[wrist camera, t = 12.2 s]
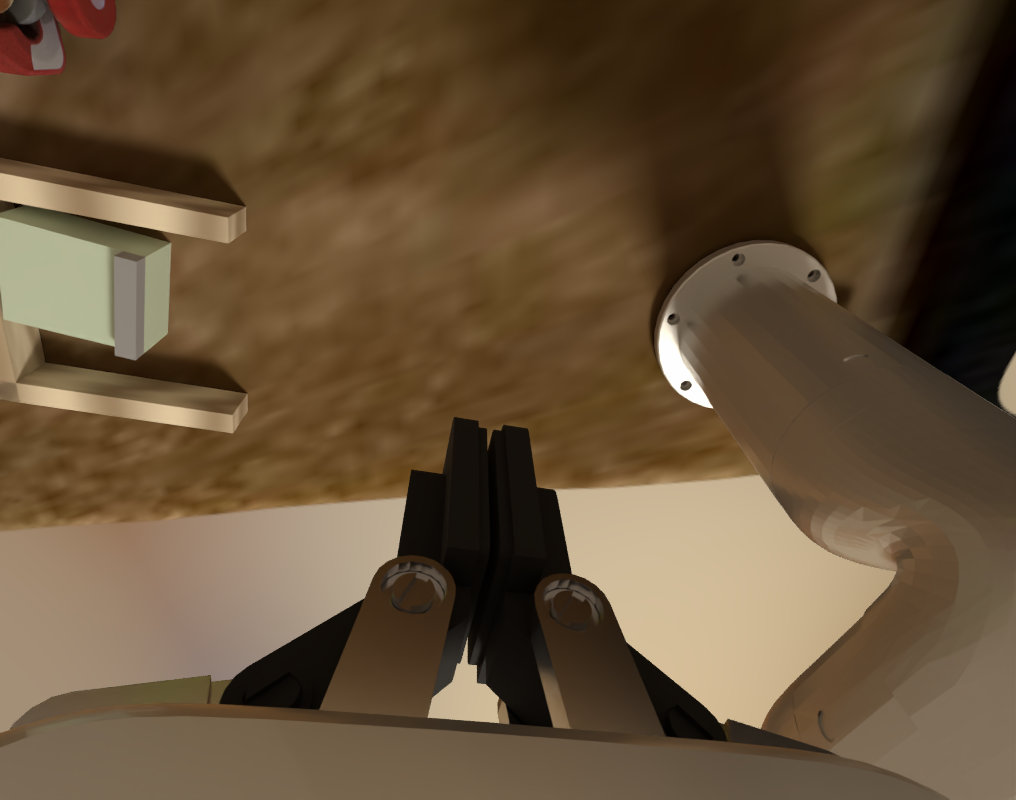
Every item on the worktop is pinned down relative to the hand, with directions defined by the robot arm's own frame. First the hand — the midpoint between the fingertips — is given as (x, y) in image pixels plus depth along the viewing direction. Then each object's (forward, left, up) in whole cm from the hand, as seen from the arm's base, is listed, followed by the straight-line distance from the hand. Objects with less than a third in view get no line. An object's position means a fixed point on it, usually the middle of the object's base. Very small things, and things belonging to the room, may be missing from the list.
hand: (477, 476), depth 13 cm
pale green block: (+23, +9, -27) cm, 37 cm away
